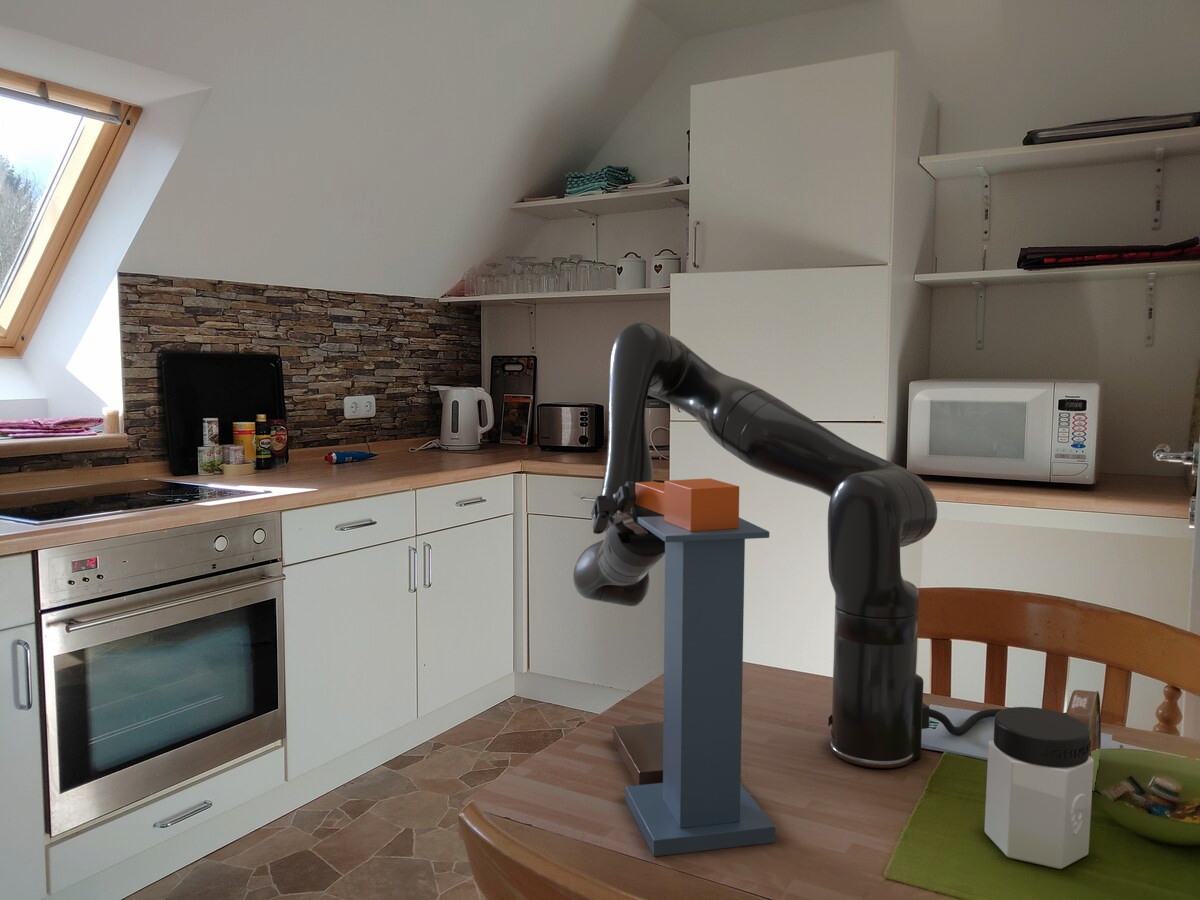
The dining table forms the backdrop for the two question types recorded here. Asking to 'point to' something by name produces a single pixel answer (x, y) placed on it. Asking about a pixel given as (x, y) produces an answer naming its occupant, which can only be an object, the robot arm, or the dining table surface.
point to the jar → (1039, 786)
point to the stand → (701, 698)
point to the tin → (1087, 714)
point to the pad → (641, 751)
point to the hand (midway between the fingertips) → (671, 488)
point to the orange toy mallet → (692, 503)
